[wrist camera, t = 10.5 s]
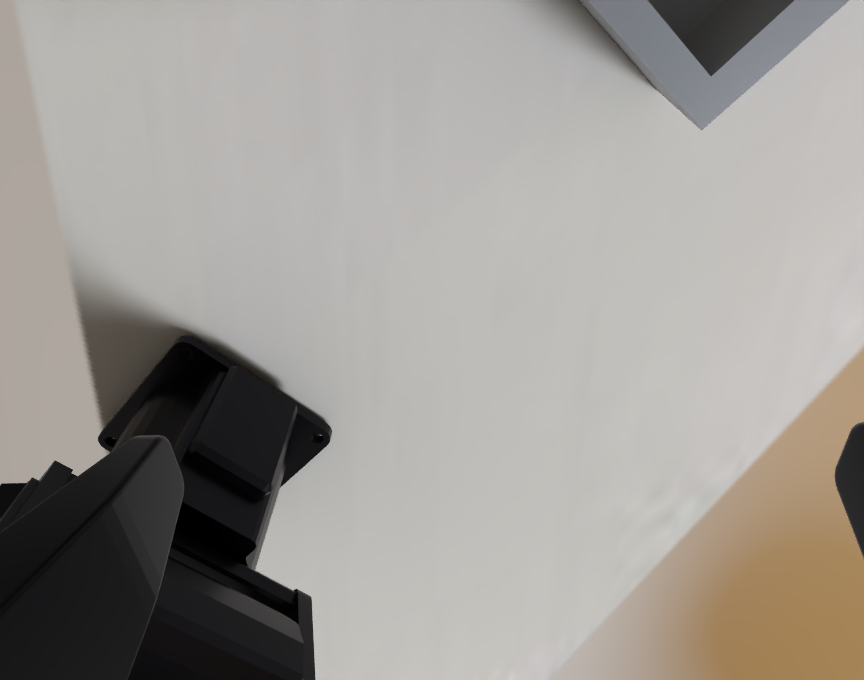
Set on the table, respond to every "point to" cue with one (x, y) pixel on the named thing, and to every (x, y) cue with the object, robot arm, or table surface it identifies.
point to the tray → (708, 44)
